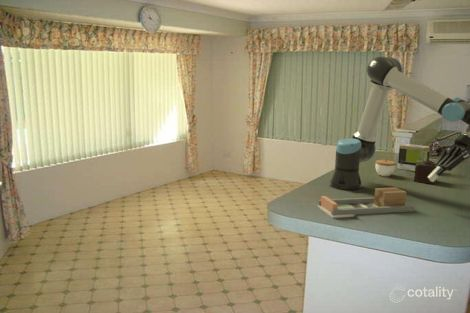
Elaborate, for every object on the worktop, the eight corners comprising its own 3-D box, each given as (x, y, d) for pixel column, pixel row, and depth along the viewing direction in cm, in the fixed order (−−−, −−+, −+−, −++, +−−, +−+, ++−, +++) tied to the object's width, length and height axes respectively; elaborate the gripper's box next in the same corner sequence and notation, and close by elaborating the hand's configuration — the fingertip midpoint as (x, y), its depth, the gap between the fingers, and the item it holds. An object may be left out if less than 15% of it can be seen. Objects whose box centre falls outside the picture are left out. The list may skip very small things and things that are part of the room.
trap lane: (317, 206, 173) (318, 195, 172) (393, 202, 181) (394, 191, 180) (332, 217, 160) (333, 205, 159) (414, 213, 168) (415, 201, 167)
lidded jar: (398, 176, 230) (400, 160, 228) (383, 178, 226) (385, 161, 224) (385, 172, 240) (386, 156, 238) (370, 173, 236) (371, 157, 234)
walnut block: (373, 204, 175) (375, 188, 174) (394, 203, 177) (396, 187, 176) (383, 209, 168) (384, 193, 167) (404, 208, 171) (406, 192, 169)
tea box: (428, 170, 248) (431, 146, 245) (422, 173, 241) (425, 148, 238) (402, 166, 258) (405, 143, 255) (396, 168, 251) (399, 144, 248)
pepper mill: (435, 185, 214) (440, 150, 211) (413, 181, 220) (416, 148, 217) (440, 179, 227) (444, 147, 223) (419, 176, 233) (422, 144, 229)
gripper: (485, 148, 170) (446, 189, 169) (461, 143, 182) (424, 181, 182) (476, 135, 168) (436, 177, 167) (452, 131, 180) (415, 170, 179)
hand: (430, 179), depth 174 cm, fingers closed
